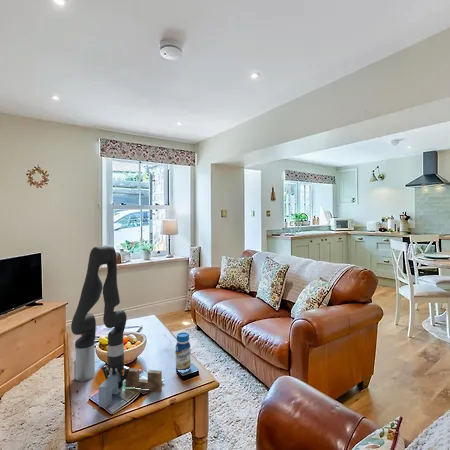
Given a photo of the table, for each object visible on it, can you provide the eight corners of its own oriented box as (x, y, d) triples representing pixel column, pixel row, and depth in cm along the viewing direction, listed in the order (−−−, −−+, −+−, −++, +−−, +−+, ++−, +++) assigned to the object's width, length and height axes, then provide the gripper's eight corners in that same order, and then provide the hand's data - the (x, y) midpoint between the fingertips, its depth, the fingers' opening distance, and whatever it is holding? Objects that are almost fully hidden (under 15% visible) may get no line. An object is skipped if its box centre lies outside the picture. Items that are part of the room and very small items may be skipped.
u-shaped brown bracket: (125, 388, 142) (125, 370, 142) (127, 385, 145) (127, 368, 145) (159, 391, 139) (159, 373, 139) (161, 388, 142) (161, 370, 142)
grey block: (98, 406, 129) (98, 386, 129) (115, 388, 142) (115, 370, 142) (106, 407, 128) (105, 387, 128) (122, 389, 142) (122, 371, 142)
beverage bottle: (190, 365, 164) (190, 331, 164) (191, 373, 156) (190, 336, 156) (175, 367, 163) (175, 332, 163) (175, 374, 155) (174, 337, 155)
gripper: (97, 355, 137) (98, 390, 137) (125, 357, 135) (125, 393, 135) (106, 348, 144) (107, 382, 145) (133, 349, 142) (133, 384, 142)
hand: (116, 387), depth 140 cm, fingers closed on grey block, 3 cm apart
